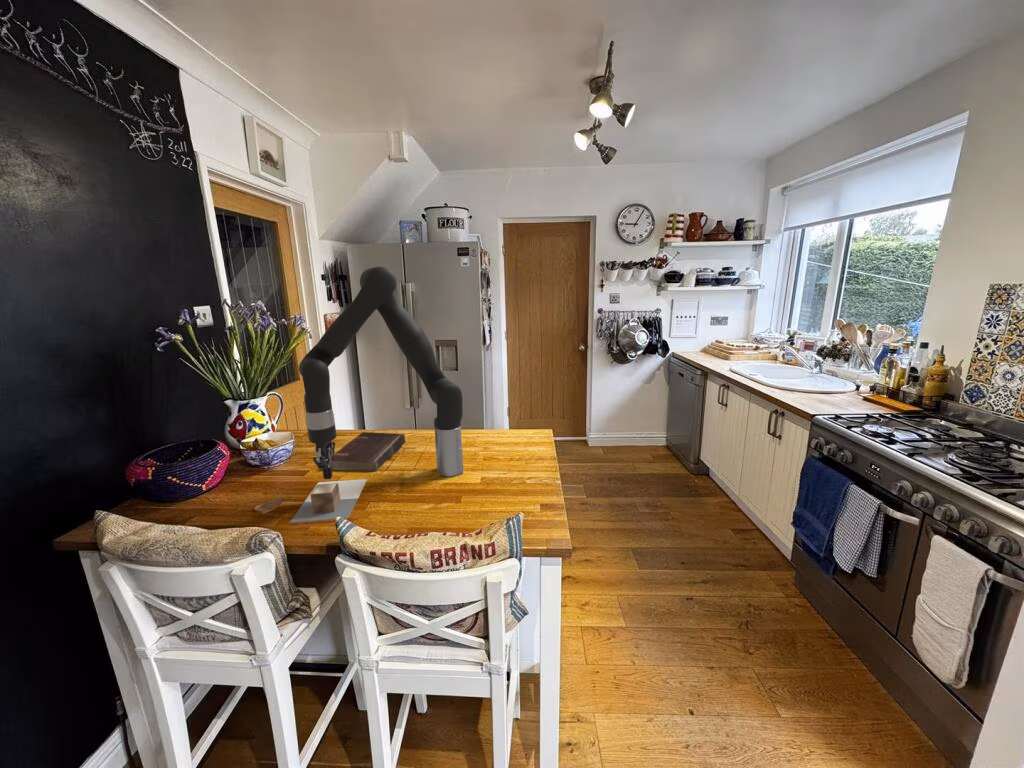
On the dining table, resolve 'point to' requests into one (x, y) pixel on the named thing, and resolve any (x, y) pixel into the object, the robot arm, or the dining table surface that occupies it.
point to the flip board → (347, 502)
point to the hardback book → (367, 451)
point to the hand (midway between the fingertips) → (328, 478)
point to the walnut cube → (325, 498)
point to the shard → (269, 505)
